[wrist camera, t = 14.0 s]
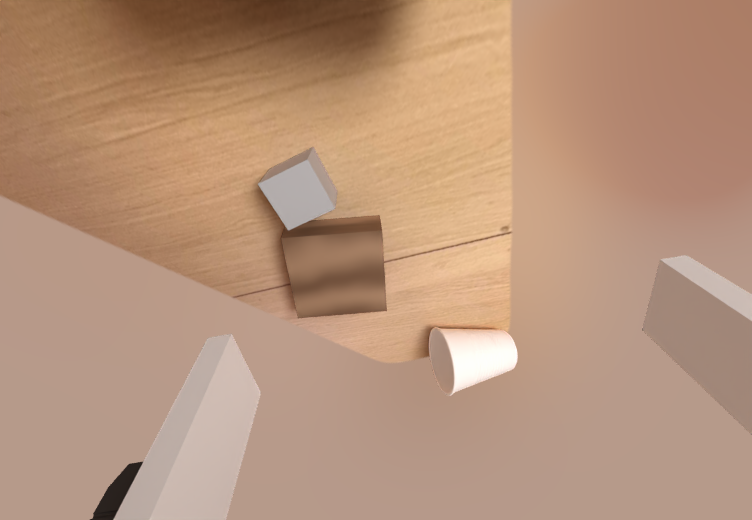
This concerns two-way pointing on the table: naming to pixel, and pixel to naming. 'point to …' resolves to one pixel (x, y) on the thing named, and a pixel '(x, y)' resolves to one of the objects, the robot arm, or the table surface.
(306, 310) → the walnut block
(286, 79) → the table surface
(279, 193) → the grey cube
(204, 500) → the robot arm
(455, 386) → the cup
